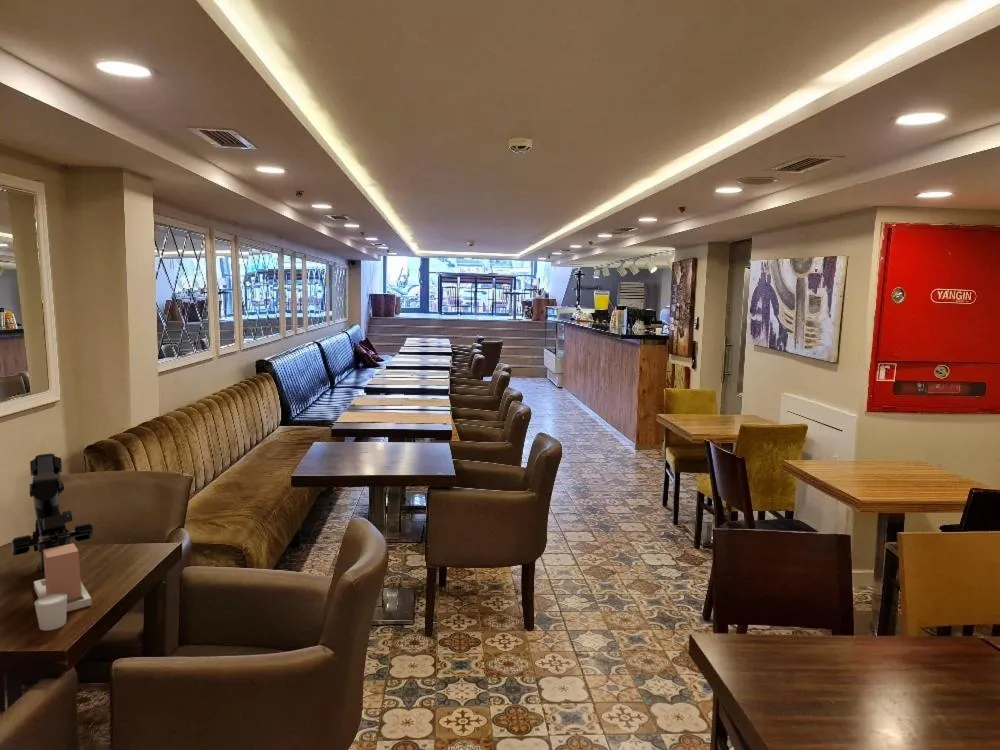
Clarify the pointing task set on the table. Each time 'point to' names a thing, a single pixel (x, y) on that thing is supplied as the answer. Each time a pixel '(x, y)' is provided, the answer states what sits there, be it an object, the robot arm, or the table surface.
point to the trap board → (71, 604)
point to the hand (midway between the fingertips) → (58, 565)
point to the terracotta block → (62, 571)
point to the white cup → (51, 611)
